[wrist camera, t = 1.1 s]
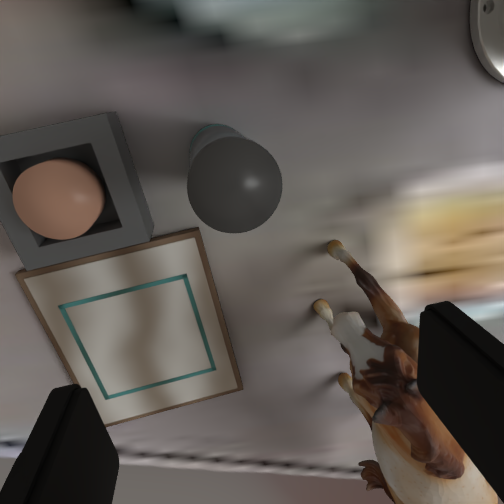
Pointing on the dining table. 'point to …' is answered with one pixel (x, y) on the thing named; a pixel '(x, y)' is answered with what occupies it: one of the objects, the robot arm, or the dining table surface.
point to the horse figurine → (399, 406)
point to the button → (59, 198)
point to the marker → (232, 180)
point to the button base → (102, 163)
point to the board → (138, 326)
